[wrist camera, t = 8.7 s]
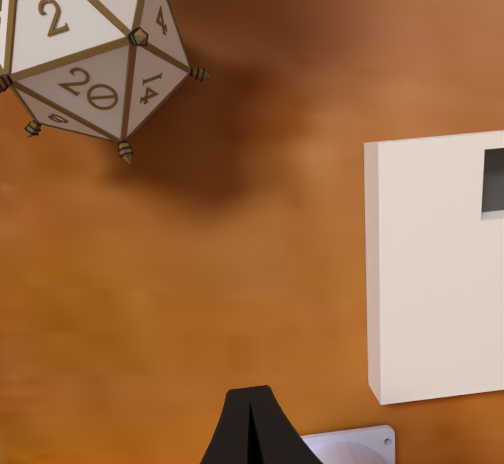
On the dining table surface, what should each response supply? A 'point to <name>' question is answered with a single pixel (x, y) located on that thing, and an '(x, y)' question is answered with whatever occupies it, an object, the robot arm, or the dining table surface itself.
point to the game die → (92, 63)
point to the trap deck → (435, 266)
